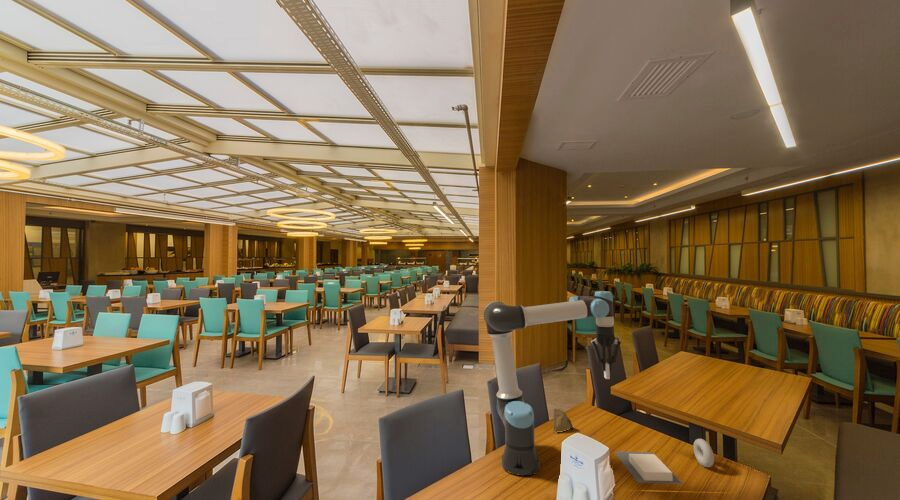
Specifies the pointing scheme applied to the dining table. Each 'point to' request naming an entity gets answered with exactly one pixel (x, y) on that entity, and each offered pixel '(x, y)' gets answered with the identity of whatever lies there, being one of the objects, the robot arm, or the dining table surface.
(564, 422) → the rock
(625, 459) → the mat
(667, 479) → the tile
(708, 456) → the donut
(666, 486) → the dining table surface
